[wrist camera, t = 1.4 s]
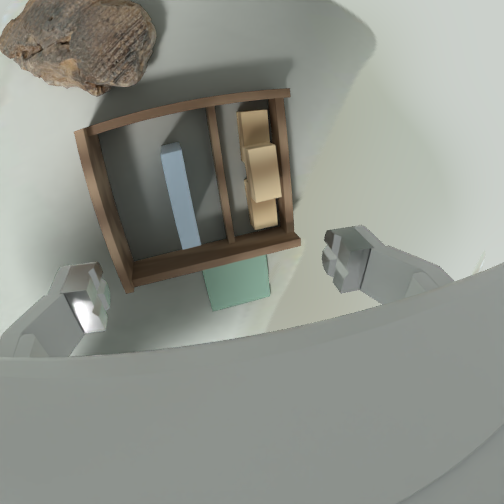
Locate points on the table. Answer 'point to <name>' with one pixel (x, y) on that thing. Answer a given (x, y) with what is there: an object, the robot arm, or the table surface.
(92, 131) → the rack
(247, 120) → the offcut
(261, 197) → the offcut top
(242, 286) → the pad
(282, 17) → the table surface
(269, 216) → the offcut
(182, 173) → the sheet
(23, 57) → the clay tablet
